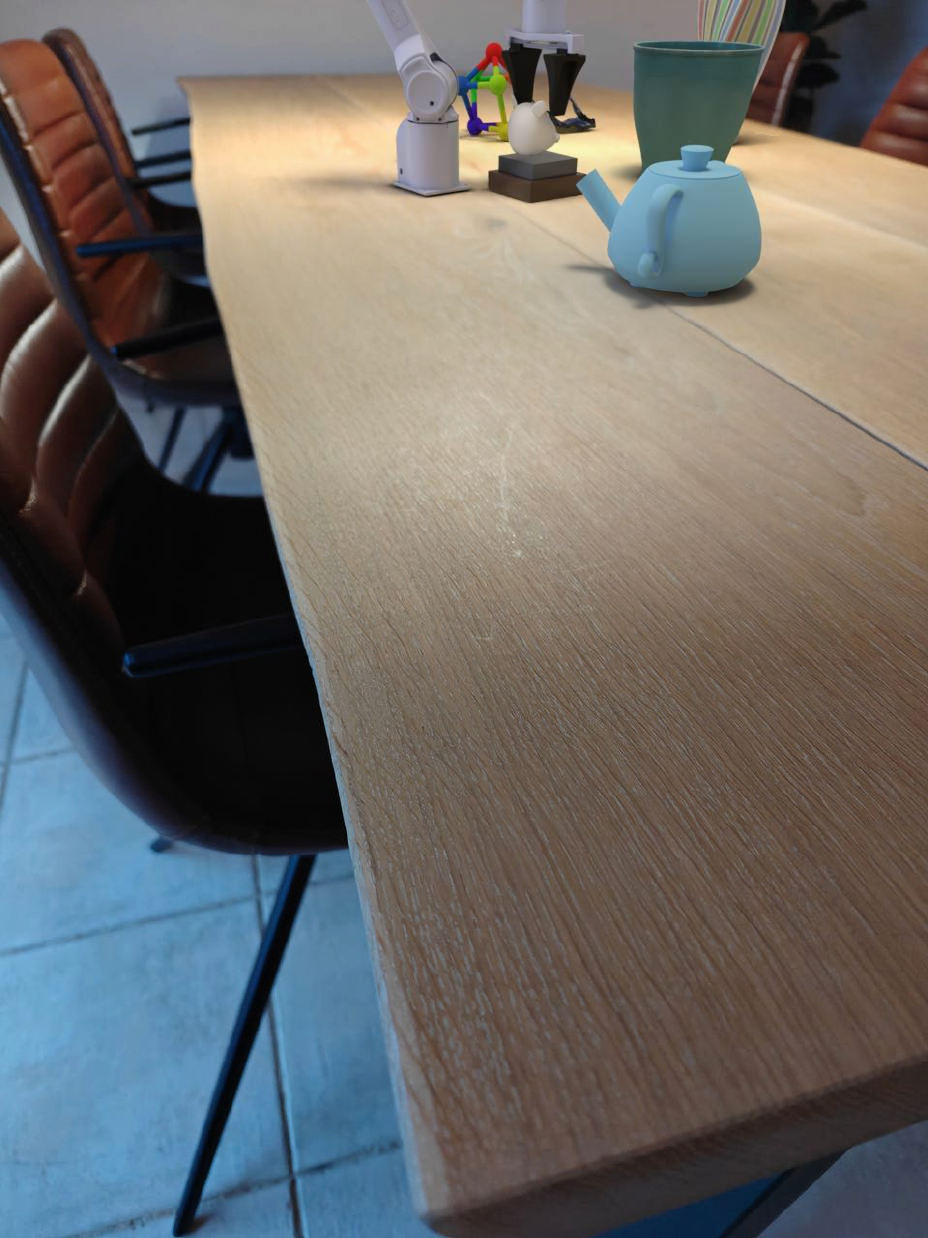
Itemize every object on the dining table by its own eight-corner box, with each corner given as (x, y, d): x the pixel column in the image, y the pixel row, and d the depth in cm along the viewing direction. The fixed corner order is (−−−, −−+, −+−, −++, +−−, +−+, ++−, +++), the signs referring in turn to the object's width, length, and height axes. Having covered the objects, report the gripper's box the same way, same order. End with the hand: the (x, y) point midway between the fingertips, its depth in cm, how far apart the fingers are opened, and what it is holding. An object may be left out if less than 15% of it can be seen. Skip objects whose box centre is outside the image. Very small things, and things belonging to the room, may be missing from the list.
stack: (487, 189, 127) (488, 154, 124) (542, 181, 132) (543, 147, 129) (530, 202, 120) (531, 166, 118) (585, 193, 125) (588, 158, 122)
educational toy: (458, 136, 169) (458, 42, 161) (525, 137, 168) (529, 43, 160) (448, 141, 156) (448, 40, 148) (521, 142, 155) (525, 40, 147)
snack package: (585, 123, 175) (527, 122, 174) (590, 87, 170) (530, 86, 169) (597, 145, 167) (537, 144, 165) (603, 108, 162) (541, 107, 161)
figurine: (570, 141, 121) (560, 90, 116) (534, 163, 120) (523, 113, 115) (536, 131, 126) (525, 83, 121) (501, 153, 125) (488, 105, 120)
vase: (768, 140, 158) (807, -72, 140) (744, 152, 149) (782, -73, 131) (697, 133, 164) (725, -70, 146) (669, 144, 155) (696, -71, 137)
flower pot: (666, 160, 144) (681, 36, 133) (764, 176, 133) (789, 43, 123) (597, 177, 134) (607, 44, 123) (697, 195, 123) (718, 52, 113)
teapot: (717, 321, 82) (743, 172, 75) (530, 286, 91) (536, 150, 83) (778, 268, 95) (805, 138, 88) (610, 243, 104) (621, 122, 96)
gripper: (606, -10, 109) (597, 115, 117) (535, -13, 118) (531, 103, 127) (562, -8, 106) (555, 120, 114) (493, -12, 115) (491, 107, 124)
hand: (540, 112), depth 120 cm, fingers open, 7 cm apart
